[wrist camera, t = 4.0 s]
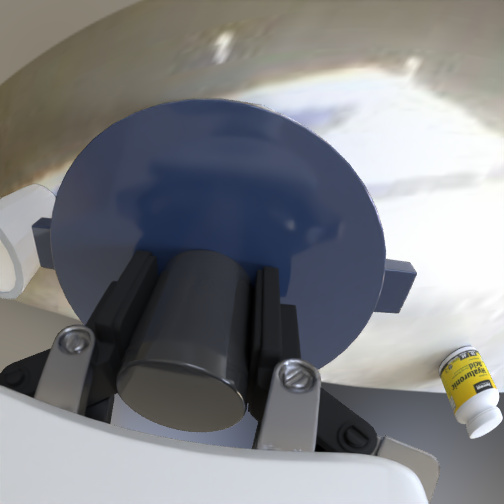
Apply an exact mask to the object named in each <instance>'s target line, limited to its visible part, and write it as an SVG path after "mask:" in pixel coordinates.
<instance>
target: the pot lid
mask: <svg viewBox="0 0 504 504" xmlns="http://www.w3.org/2000/svg"><path fill="white" fill-rule="evenodd" d="M50 236H51V251H52V257H53V263H54V267H55V271H56V274H57V277H58V280H59V283H60V285H61V288H62V290H63V292H64V294H65V296H66V298H67V300H68V302H69V304H70V305H71V307H72V309H73V310H74V312H75V313H76V315H77V316H78V317H79V319H80V320H81V321H82V323H83V324H84V325H86V323H87V321H88V320H89V318H90V316H91V315H92V313H93V311H94V309H95V308H96V306H97V304H98V303H99V301H100V300H101V298H102V296H103V295H104V293H105V291H106V290H107V288H108V287H109V285H110V284H111V282H112V281H118V279H119V278H120V276H121V274H122V273H123V271H124V270H125V268H126V267H127V265H128V263H129V262H130V260H131V259H132V257H133V256H134V254H135V252H136V251H137V250H140V251H148V252H152V254H153V256H156V257H157V266H158V279H157V281H156V283H155V285H154V287H153V289H152V291H151V294H150V296H149V298H148V300H147V302H146V305H145V307H144V309H143V311H142V314H141V316H140V318H139V320H138V323H137V325H136V327H135V329H134V332H133V334H132V336H131V339H130V341H129V344H128V346H127V348H126V351H125V353H124V355H123V358H122V360H121V363H120V365H119V368H118V370H117V373H116V376H115V386H116V390H117V392H118V394H119V396H120V397H121V399H122V400H123V401H124V402H125V403H126V404H127V405H128V406H129V407H130V408H131V409H133V410H134V411H135V412H137V413H138V414H140V415H141V416H143V417H145V418H146V419H149V420H150V421H153V422H155V423H157V424H160V425H163V426H166V427H169V428H173V429H177V430H182V431H189V432H212V431H218V430H223V429H225V428H229V427H231V426H233V425H234V424H236V423H238V422H239V421H240V420H241V419H242V418H243V416H244V414H245V412H246V409H247V394H248V377H249V360H250V343H251V325H252V308H253V293H254V286H255V280H256V274H257V269H258V270H263V267H264V266H266V267H274V268H278V269H279V286H280V304H290V305H295V306H296V311H297V320H298V330H299V340H300V350H301V359H303V360H306V361H308V362H310V363H311V364H313V365H314V366H315V367H316V368H317V369H320V368H322V367H323V366H325V365H326V364H328V363H329V362H331V361H332V360H334V359H335V358H336V357H337V356H338V355H340V354H341V353H342V352H343V351H345V350H346V349H347V348H348V346H349V345H350V344H351V343H352V342H353V341H354V340H355V339H356V338H357V337H358V335H359V334H360V333H361V331H362V330H363V329H364V327H365V326H366V324H367V323H368V321H369V319H370V317H371V315H372V313H373V312H374V310H375V308H376V305H377V302H378V300H379V297H380V294H381V291H382V286H383V281H384V276H385V267H386V247H385V240H384V233H383V228H382V224H381V221H380V218H379V215H378V212H377V208H376V206H375V204H374V202H373V200H372V198H371V196H370V194H369V192H368V190H367V188H366V186H365V185H364V183H363V182H362V180H361V179H360V178H359V176H358V175H357V174H356V172H355V171H354V169H353V168H352V167H351V165H350V164H349V163H348V162H347V161H346V160H345V159H344V158H343V157H342V156H341V155H340V154H339V153H338V152H337V151H336V150H335V149H334V148H333V147H332V146H331V145H330V144H329V143H328V142H327V141H325V140H324V139H323V138H321V137H320V136H319V135H317V134H316V133H314V132H313V131H312V130H310V129H309V128H307V127H306V126H305V125H303V124H301V123H299V122H297V121H295V120H293V119H291V118H289V117H287V116H285V115H283V114H281V113H279V112H276V111H273V110H270V109H267V108H264V107H261V106H258V105H255V104H252V103H247V102H241V101H235V100H228V99H220V98H192V99H185V100H179V101H172V102H166V103H162V104H159V105H156V106H153V107H150V108H147V109H144V110H141V111H138V112H135V113H133V114H131V115H129V116H127V117H125V118H124V119H122V120H120V121H118V122H116V123H114V124H112V125H111V126H110V127H108V128H107V129H106V130H104V131H103V132H102V133H100V134H99V135H98V136H97V137H95V138H94V139H93V140H92V141H91V142H90V143H89V144H88V145H87V146H86V147H85V148H84V149H83V151H82V152H81V153H80V154H79V155H78V156H77V158H76V159H75V161H74V162H73V164H72V165H71V167H70V168H69V170H68V171H67V173H66V175H65V177H64V179H63V181H62V183H61V186H60V188H59V190H58V192H57V196H56V200H55V203H54V207H53V211H52V219H51V228H50Z"/></svg>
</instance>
